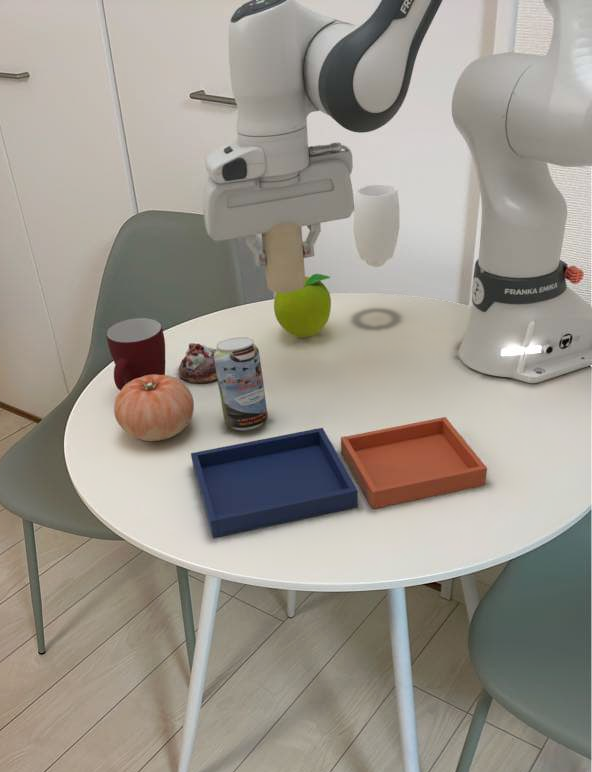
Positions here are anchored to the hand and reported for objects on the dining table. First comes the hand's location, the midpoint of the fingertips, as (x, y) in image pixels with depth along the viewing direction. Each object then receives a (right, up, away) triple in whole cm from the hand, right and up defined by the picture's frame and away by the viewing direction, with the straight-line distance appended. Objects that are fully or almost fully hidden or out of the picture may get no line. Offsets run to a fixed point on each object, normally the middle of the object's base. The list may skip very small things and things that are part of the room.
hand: (283, 260), depth 105 cm
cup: (+16, -2, +23) cm, 28 cm away
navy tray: (-1, -33, -11) cm, 35 cm away
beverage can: (-5, -23, +1) cm, 23 cm away
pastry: (-12, -13, +13) cm, 22 cm away
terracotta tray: (+16, -30, -10) cm, 36 cm away
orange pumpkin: (-17, -24, 0) cm, 30 cm away
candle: (0, -3, +3) cm, 4 cm away
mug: (-21, -18, +8) cm, 29 cm away
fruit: (+3, -5, +21) cm, 22 cm away
